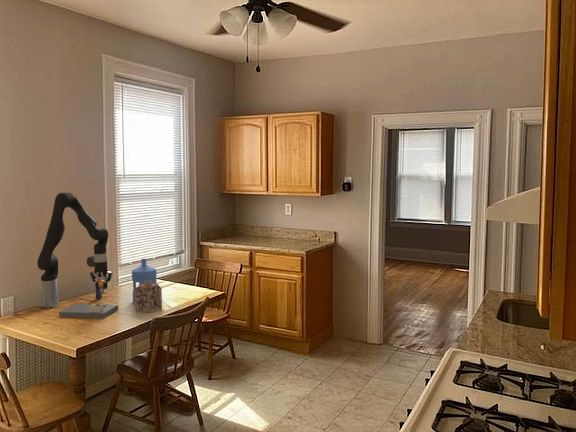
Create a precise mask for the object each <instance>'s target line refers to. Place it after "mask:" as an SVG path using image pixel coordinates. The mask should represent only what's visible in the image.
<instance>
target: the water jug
mask: <svg viewBox="0 0 576 432" xmlns="http://www.w3.org/2000/svg"><path fill="white" fill-rule="evenodd" d="M140 260H141V262H140V263H141V265H139V266H137V267H135V268H133V269H132V270H131V280H132V286H133V287H132V288H133V289H132V302H133V303H134V304H135V289H136V288H137V283H138V285H140V284H143V283H144V282H145V281H152V283H157V282H158V281H157V275H158V273H157V269H156V268H155V267H152V266H150V265H148V264H147V258H141V259H140ZM157 284H158V283H157Z"/></svg>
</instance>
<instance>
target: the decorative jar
mask: <svg viewBox="0 0 576 432" xmlns="http://www.w3.org/2000/svg"><path fill="white" fill-rule="evenodd" d="M162 295H163V293H162V287H161V286H160V285H159V284H158V283H152V281H145V282H144V283H143V284H140V285H139V284H138V285H137V286H136V289H135V303H134V305H135V311H136V312H138V313H139V312H140V313H146V314H151V313H153V312H157V311H160V310H162V309H163V296H162Z"/></svg>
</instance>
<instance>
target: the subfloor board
mask: <svg viewBox="0 0 576 432" xmlns="http://www.w3.org/2000/svg"><path fill="white" fill-rule="evenodd" d="M93 304H94V303H93ZM93 304H92V303H75V304H73V305H70V306H68V307H66V308H64V309H63V310H60V311H59V312H58V316H59V318H79V319H80V318H82V319H84V318H85V319H105V318H107V317H108V316H110V315H112V314H114V313H115V312H117V311H118V310H119V305H118V304H103V308H104V310H103V311H101V312H90V306H91V305H93Z"/></svg>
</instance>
